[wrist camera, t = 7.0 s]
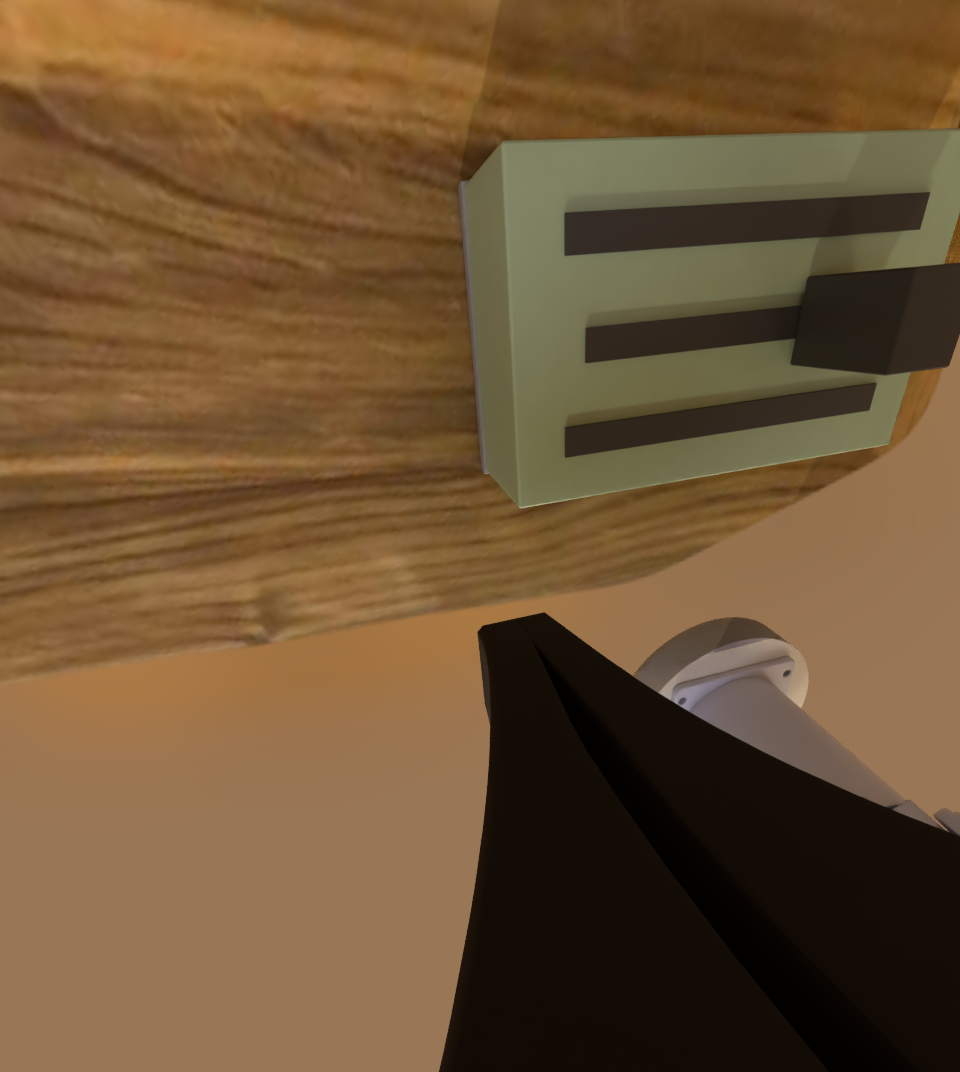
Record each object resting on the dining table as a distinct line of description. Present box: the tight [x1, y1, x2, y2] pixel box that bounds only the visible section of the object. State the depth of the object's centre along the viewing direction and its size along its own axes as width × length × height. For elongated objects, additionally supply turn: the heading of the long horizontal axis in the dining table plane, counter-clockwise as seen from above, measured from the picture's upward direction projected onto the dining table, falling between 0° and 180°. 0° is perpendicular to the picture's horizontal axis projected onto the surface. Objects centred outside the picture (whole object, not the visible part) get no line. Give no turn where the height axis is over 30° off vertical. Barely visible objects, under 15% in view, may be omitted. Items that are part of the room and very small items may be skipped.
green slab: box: [458, 128, 960, 508], centre depth 16 cm, size 9×14×5 cm, turn 95°
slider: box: [790, 263, 960, 376], centre depth 13 cm, size 2×2×3 cm
